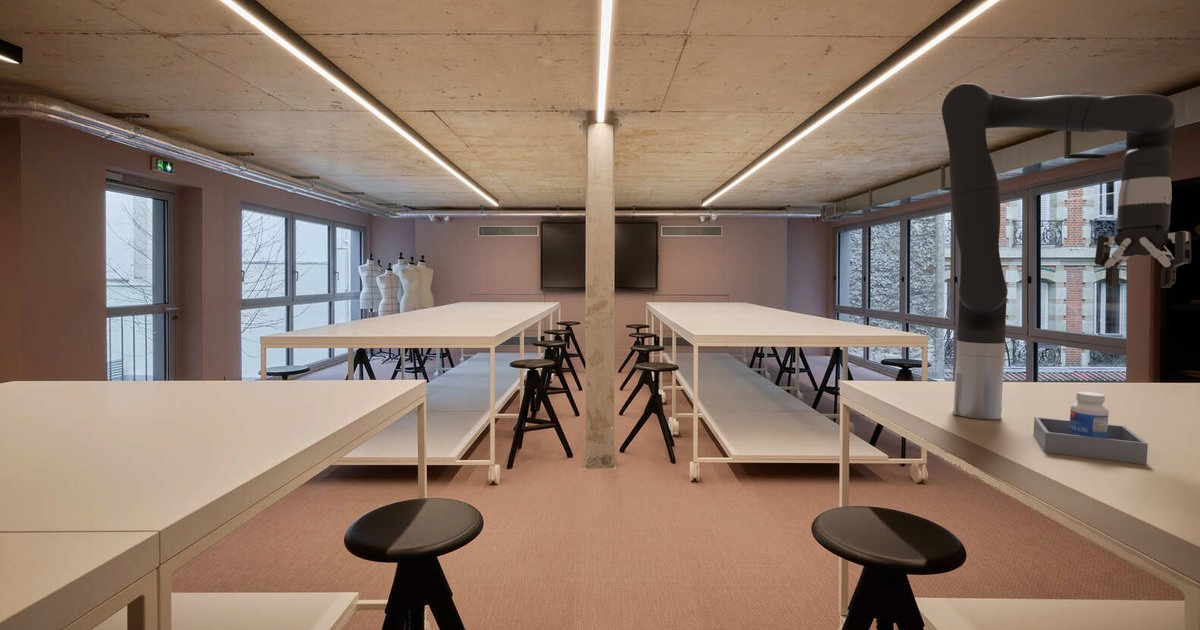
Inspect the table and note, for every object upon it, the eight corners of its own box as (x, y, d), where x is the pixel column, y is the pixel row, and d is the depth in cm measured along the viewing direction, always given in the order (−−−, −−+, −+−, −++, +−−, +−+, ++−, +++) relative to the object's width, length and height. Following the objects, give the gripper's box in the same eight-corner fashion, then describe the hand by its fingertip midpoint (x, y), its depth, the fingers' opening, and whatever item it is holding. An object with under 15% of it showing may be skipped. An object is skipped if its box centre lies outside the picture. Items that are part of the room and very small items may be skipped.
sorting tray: (1044, 451, 106) (1045, 432, 106) (1033, 434, 118) (1034, 417, 118) (1146, 464, 99) (1147, 443, 99) (1124, 444, 111) (1125, 426, 111)
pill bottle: (1060, 441, 111) (1063, 390, 111) (1087, 440, 112) (1090, 390, 111) (1086, 449, 106) (1090, 396, 105) (1114, 449, 106) (1117, 396, 106)
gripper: (1089, 206, 118) (1085, 286, 119) (1179, 197, 105) (1173, 287, 106) (1113, 208, 121) (1108, 286, 122) (1203, 199, 107) (1197, 288, 108)
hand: (1138, 287), depth 114 cm, fingers open, 8 cm apart
